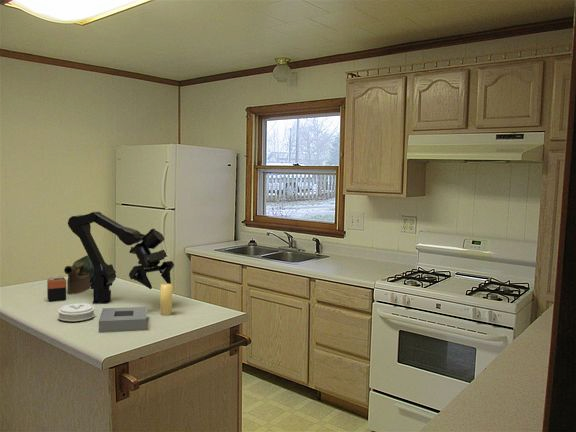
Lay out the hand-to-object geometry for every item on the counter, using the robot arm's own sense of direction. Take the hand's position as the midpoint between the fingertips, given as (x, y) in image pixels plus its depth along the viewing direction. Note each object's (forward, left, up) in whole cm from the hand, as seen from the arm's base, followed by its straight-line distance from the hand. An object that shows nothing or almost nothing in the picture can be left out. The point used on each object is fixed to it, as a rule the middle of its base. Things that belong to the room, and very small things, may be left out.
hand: (160, 286), depth 196 cm
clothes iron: (-37, +39, -11) cm, 55 cm away
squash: (-34, +55, -11) cm, 66 cm away
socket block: (-14, -13, -10) cm, 22 cm away
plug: (+2, -3, -10) cm, 11 cm away
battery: (-42, +24, -11) cm, 50 cm away
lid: (-31, -3, -11) cm, 33 cm away
